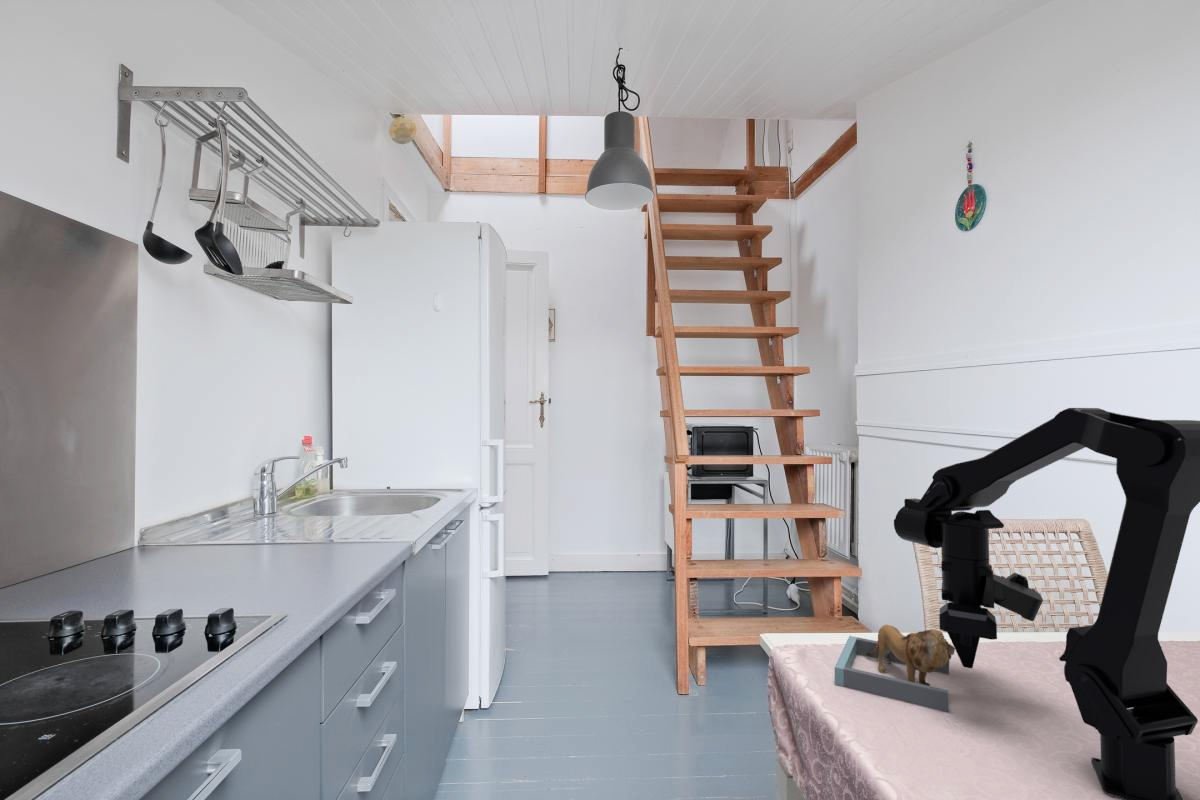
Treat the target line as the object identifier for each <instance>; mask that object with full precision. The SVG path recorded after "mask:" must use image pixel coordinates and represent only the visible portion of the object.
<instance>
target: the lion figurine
mask: <svg viewBox="0 0 1200 800" xmlns="http://www.w3.org/2000/svg"><path fill="white" fill-rule="evenodd" d="M877 641H878V642H877V645H876V647H875V649H874V650H873V651H870V652H867V653H866V655H867V656H873V655H874V654H875V653H876V652H877V651H878V649H879V656H878V659H877V661H878V667H877V670H878V672H879V673H887V670H888V669H887V667H886V666H885V665H884V663H886V664H891V663H892V662H891V659H889V658H888V654H889V653H891V652H892V653H893V654H894V656H895V657H896V658H898V659H899V660H900V661H902V662H904V663H906V665H905V667H906V674H907V681H910V682H914V683H917V682H918V683H919V684H923V685H928V686H931V684H930V683H929V682H926V677H927V674H931V673H934V672H936V671H935V668H939V667H943V666H945V664H946V663H947V661H948V660H949V661H950V660H952V656H953V655H955V651H956V650H955V647H954V645H951V644H950V643H948V641H947V639H946V638H945V635H944V634H943V632H942V631H939V630H937V629H925V630H923V631H918V632H911V633H908V634H906V635H903V634H902V633H901V632H900V631H899V629H898V628H897V627H895V626H893V625H890V624H884V625H882V626H881V627H880V628H879V630H878V634H877ZM916 671H918V681H917V682H916V674H917V673H916Z"/></svg>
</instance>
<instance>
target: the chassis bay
mask: <svg viewBox="0 0 1200 800" xmlns="http://www.w3.org/2000/svg"><path fill="white" fill-rule="evenodd" d="M877 642H878V640H872V639H867V638H863V637H857V636H852V635H849V636H848V637H847V640H846V642H845V644H844V646H843V648H842V651H841V654H840V656H839V657H838V659H837V661H836V663H835V666H834V685H836V686H840V687H843V688H849V689H852V690H855V691H860V692H863V693H864V692H865V693H868V694H872V695H876V696H881V697H885V698H888V699H893V700H897V701H901V702H905V703H908V704H913V705H916V706H917V705H918V706H921V707H926V708H929V709H933V710H937V711H941V712H946V713H949V711H950V708H949V707H950V705H949V704H950V703H949V699H950V698H949V696H950V694H949V693H950V692H949V691H950V690H948V689H946V688H945V689H944V688H940V687H936V686H931V685H930V686H928V685H923V684H919V682H916V683H914V682H910V681H908V680H907V679H906V680H905V679H900V678H896V677H891V676H887V675H883V674H879V673H874V672H870V671H866V670H862V669H856V668H853V664H854V662H855V659H856V658H857V657H856V656H862V657H865V658H870V659H876V660H878V656H879V649H878V651H877V652H876V653H875V654H874V655H873V656H867V655H866V653H867V652H870V651H873V650H874V649H875V647H876V645H877ZM888 658H889V659H891V663H894V664H898V665H899V664H900V665H904V666H906V663H904V662H902V661H900V660H899V659H898V658H896V657H895V656H894V654H893V653H892V652H891V653H889V654H888ZM934 672H937V673H940V672H941V674H945V675H950V660H948V661H947V663H946V664H945V666H943V667H939V668H935V671H934Z"/></svg>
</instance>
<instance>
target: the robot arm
mask: <svg viewBox="0 0 1200 800" xmlns="http://www.w3.org/2000/svg"><path fill="white" fill-rule="evenodd" d="M1085 448H1088V449H1089V450H1090V451H1093V452H1095V453H1097V454H1100V455H1103V456H1108V457H1111V458H1113V459H1116V464H1115V465H1116V469H1115V471H1116V472H1115V473H1116V475H1117V479H1118V480H1119V483H1120V486H1121V488H1122V491H1123V493H1124V496H1125V504H1124V509H1123V513H1122V517H1121V521H1120V524H1119V529H1118V533H1117V536H1116V541H1115V545H1114V549H1113V552H1112V553H1113V554H1112V556H1111V557H1112V558H1111V562H1110V566H1109V570H1108V574H1107V578H1106V582H1105V587H1104V590H1103V594H1102V598H1101V602H1100V607H1099V611H1098V615H1097V618H1096V620H1095V622H1094V623H1093V624H1092V625H1084V626H1077V627H1076V626H1075V627H1069V628H1068V631H1067V632H1066V638H1065V649H1064V652H1063V653H1062V654H1061V656H1060V657H1059V658H1058V659H1059V661H1060V662H1065V663H1064V665H1063V666H1064V667H1063V674H1064V678H1065V681H1066V682H1068V683H1069V685H1070V687H1071V691H1072V693H1073V694H1072V695H1073V696H1074V699H1075V701H1076V704H1077V707H1078V711H1079V713H1080V716H1081V720H1082V722H1083V723H1084V724H1085V725H1088V726H1090V727H1091V728H1094V729H1095V730H1097V733H1098V734H1099V735H1100V739H1099V740H1100V758H1097V757H1091V759H1090V760H1091V764H1092V768H1093V770H1094V772H1095V774H1096V778H1097V779H1098V782H1099V785H1100V786H1101V789H1102V791H1103V793H1106V794H1108V795H1112V796H1115V797H1118V798H1122V799H1125V800H1185V799H1184V797H1183V796H1182V794H1181V793H1180V791H1179V789H1178V787H1177V785H1176V753H1175V752H1176V750H1175V749H1176V748H1175V746H1176V745H1175V744H1176V743H1175V737H1178V736H1179V737H1180V736H1183V735H1184V736H1191V735H1192V734H1193V732H1194V729H1195V728H1196V726H1197V724H1198V721H1199V720H1198V718H1197V716H1196V715H1195V714H1194V713H1193V712H1192V710H1191V709H1190V708H1189V707H1188V706H1187V705H1186V704H1185V703H1184V701H1183V699H1181V698H1180V697H1179V696H1178V694H1177V693H1176V692H1175V691H1174V690H1173V689H1172V687H1170V685H1169V684H1168V661H1167V659H1166V656H1165V654H1164V651H1163V649H1162V646H1161V644H1160V642H1159V632H1160V629H1161V628H1160V627H1161V625H1162V624H1161V623H1162V620H1163V617H1164V613H1165V609H1166V606H1167V602H1168V599H1169V594H1170V591H1171V587H1172V584H1173V579H1174V576H1175V572H1176V569H1177V564H1178V561H1179V557H1180V554H1181V551H1182V550H1181V549H1182V547H1183V542H1184V538H1185V535H1186V531H1187V527H1188V523H1189V520H1190V517H1191V516H1190V515H1191V514H1192V512H1193V510H1194V509H1195V508H1196V507H1197V506H1198V505H1199V503H1200V420H1194V419H1193V420H1192V419H1191V420H1190V419H1150V418H1144V417H1139V416H1138V417H1137V416H1134V415H1133V416H1132V415H1125V414H1122V413H1121V414H1120V413H1115V412H1112V411H1111V412H1110V411H1107V410H1105V409H1102V408H1099V407H1069V408H1066V409H1063V410H1061V411H1059V412H1057V414H1055V416H1054V417H1052V418H1050V419H1049V420H1047V421H1046V422H1044V423H1042V424H1040V425H1038V426H1037V427H1034V428H1032V429H1031V430H1030V431H1028V432H1026V433H1024V434H1022V435H1021V436H1018V437H1017V438H1015V439H1013V440H1011V441H1009V442H1007V443H1006V444H1004V445H1003V446H1001V447H999V448H997V449H995V450H994V451H992V452H990V453H988V454H986V455H984V456H982V457H979V458H976V459H971V460H968V461H962V462H957V463H954V464H951V465H948V466H944V467H942V468H939V469H938V470H936V471H935V472H934V473H933V475H932V476H931V477H932V481H931V483H930V485H929V486H928V488H927V489H926V491H925V492H924V494H923V496H922V497H921V498H905V499H904V501H903V502H904V505H903V506H902V507H901V508H900V509H899V510H898V511H897V513H896V515H895V518H894V519H893V527H894V530H895V533H896V535H897V536H898V537H899V538H900V539H902V540H904V541H908V542H912V543H914V544H919V545H922V546H926V547H930V548H933V549H941V550H940V551H941V589H940V590H941V600H942V601H946V603H944V604H943V605H942V606H941V607H939V617H938V618H939V630H941V631H943V632H946V633H947V634H948V637H949V639H950V640H951V643H952V646H953V647H954V648H955V650H954V651H955V652H956V653H957V656H958V658H959V661H960V663H961V665H962V666H963V667H964V668H967V669H973V667H974V664H975V659H976V655H977V651H978V647H979V644H980V643H979V642H980V638H981V639H986V640H997V639H998V634H997V633H998V628H997V625H998V624H997V620H996V616H995V615H994V614H993V613H992V612H991V611H990V610H989V609H995V604H996V605H998V606H1000V608H1004V609H1006V610H1009V611H1011V612H1013V613H1015V614H1017V615H1020V616H1021V617H1022V619H1025V620H1026V621H1031V622H1034V621H1035V619H1036V617H1037V615H1038V612H1039V610H1040V608H1041V606H1042V604H1043V602H1044V599H1043V597H1042V595H1041V594H1040V593H1039V592H1038V591H1036V589H1034V588H1030V587H1029V583H1028V582H1029V581H1028V579H1027V577H1026V576H1024V575H1022V574H1019V573H1016V572H1013V573H1012V574H1010V575H1008V576H1007V577H1005V576H1004V575H1002V576H999V575H997V574H995V573H994V570H993V565H992V564H990V539H989V538H990V536H989V535H990V534H989V531H990V530H993V529H994V530H995V529H996V530H997V529H1003V528H1004V527H1005V525H1004V523H1003V522H1002V521H1001V520H1000V519H999V518H998V517H996V516H995V515H994V514H993V513H992V511H991V510H990V509H980V510H976V511H975V512H967V511H971V510H973V509H974V508H986V507H988V506H991V505H992V504H994V503H995V502H996V501H997V500H999V499H1001V498H1002V497H1003V496H1004V495H1005V494H1007V492H1008V490H1009V488H1010V487H1011V485H1013V484H1014V483H1016V482H1017V481H1019V480H1020V479H1022V478H1024V477H1027V476H1029V475H1032V474H1033V473H1035V472H1037V471H1040V470H1042V469H1044V468H1045V467H1048V466H1049V465H1052V464H1053V463H1055V462H1058V461H1060V460H1062V459H1064V458H1067V457H1069V456H1071V455H1072V454H1075V453H1077V452H1079V451H1081V450H1083V449H1085ZM953 512H954V513H953ZM947 601H948V602H947ZM982 606H983V607H982ZM988 608H989V609H988Z"/></svg>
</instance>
